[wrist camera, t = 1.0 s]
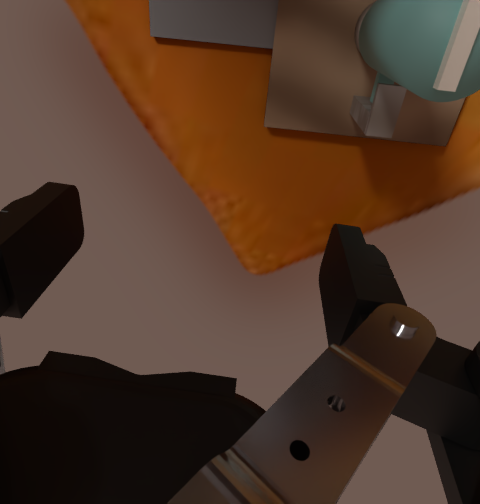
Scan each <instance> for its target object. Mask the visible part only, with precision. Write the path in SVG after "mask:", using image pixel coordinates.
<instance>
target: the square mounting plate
mask: <svg viewBox="0 0 480 504" xmlns="http://www.w3.org/2000/svg"><path fill="white" fill-rule="evenodd" d="M376 1H377V0H279V2H278V10H277V19H276V27H275V36H274V44H273V53H272V61H271V70H270V78H269V87H268V95H267V104H266V112H265V121H264V127H273V128H282V129H291V130H300V131H310V132H319V133H328V134H337V135H346V136H355V137H365V138H374V139H383V140H392V141H401V142H411V143H420V144H429V145H438V146H446V145H447V142H448V140H449V137H450V135H451V132H452V130H453V127H454V125H455V122H456V120H457V117H458V115H459V113H460V110H461V108H462V105H463V103H464V100H465V98H466V97H465V98H462V99H459V100H455V101H451V102H433V101H429V100H426V99H423V98H421V97H419V96H418V95H416V94H414V93H413V92H411V91H409V90H408V89H406V88H404V87H403V86H401V85H399V84H398V83H396V82H394V84H384V83H378V84H377V88H376V91H375V95H374V99H373V102H371V101H370V98H371V94H372V90H373V86H374V83H375V79H376V75H377V71H376V70H374V69H373V68H371V67H370V66H369V65H368V64H367V63H366V62H365V61H364V59H363V57H362V55H361V53H360V49H359V41H358V39H359V30H360V27H361V23H362V21H363V18H364V16H365V15H366V13H367V11H368V10H369V8H370V7H371V6H372V5H373V4H374V3H375V2H376Z"/></svg>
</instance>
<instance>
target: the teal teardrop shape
mask: <svg viewBox="0 0 480 504" xmlns="http://www.w3.org/2000/svg"><path fill="white" fill-rule="evenodd" d="M358 41H359V49H360V53H361V55H362V57H363V59H364V61H365V62H366V63H367V64H368V65H369V66H370V67H371V68H373V69H374V70H376V71H377V75H376V79H375V83H374V86H373V90H372V94H371V98H370V101H371V102H373V99H374V95H375V91H376V88H377V84H378V83H384V84H394V82H396V83H398V84H399V85H401V86H403V87H404V88H406V89H408V90H409V91H411V92H413V93H414V94H416V95H418V96H419V97H421V98H423V99H426V100H429V101H433V102H451V101H455V100H459V99H462V98H465V97H467V96H469V95H471V94H473V93H475V92H476V91H478V90H480V0H377V1H376V2H375V3H374V4H373V5H372V6H371V7H370V8H369V10H368V11H367V13H366V15H365V16H364V18H363V21H362V23H361V27H360V30H359V39H358Z"/></svg>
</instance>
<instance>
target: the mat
mask: <svg viewBox="0 0 480 504" xmlns="http://www.w3.org/2000/svg"><path fill="white" fill-rule="evenodd" d="M278 2H279V0H149V11H150V33H151V36H154V37H163V38H173V39H183V40H192V41H202V42H212V43H221V44H231V45H241V46H250V47H260V48H270V49H273V44H274V36H275V27H276V19H277V10H278Z"/></svg>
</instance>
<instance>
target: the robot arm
mask: <svg viewBox="0 0 480 504" xmlns="http://www.w3.org/2000/svg"><path fill="white" fill-rule="evenodd" d="M83 238H84V226H83V219H82V211H81V205H80V197H79V192H78V189H77V188H76V186H74V185H67V184H61V183H53V182H47V183H46V184H45V185H43V186H42V187H40V188H39V189H38V190H36V191H35V192H34V193H33V194H31V195H28V196H25V197H23V198H20V199H18V200H15V201H13V202H11V203H10V204H9V205H7V206H6V207H4V208H3V209H2V210H1V212H0V317H1V316H8V317H15V318H22V317H23V316H24V315H25V313H27V311H28V310H29V309H30V308H31V307H32V305H33V304H34V303H35V302H36V301H37V299H38V298H39V297H40V296H41V294H42V293H43V292H44V291H45V290H46V288H47V287H48V286H49V285H50V284H51V282H52V281H53V280H54V279H55V278H56V276H57V275H58V274H59V273H60V272H61V270H62V269H63V268H64V267H65V266H66V264H67V263H68V262H69V261H70V259H71V258H72V257H73V256H74V255H75V253H76V252H77V251H78V250H79V249H80V247H81V245H82V242H83ZM319 287H320V294H321V300H322V307H323V313H324V319H325V326H326V332H327V339H328V346H329V347H328V349H326V350H325V351H324V353H323V354H322V355H321V356H320V357H319V358H318V359H317V360H316V361H315V362H314V363H313V364H312V365H311V366H310V367H309V368H308V369H307V370H306V371H305V372H304V373H303V374H302V375H301V376H300V377H299V378H298V379H297V380H296V381H295V382H294V383H293V384H292V386H291V387H290V388H289V389H288V390H287V391H286V392H285V393H284V394H283V395H282V396H281V397H280V398H279V399H278V400H277V401H276V402H275V403H274V404H273V405H272V406H271V407H270V408H269V409H268V410H267V411H265V410H264V409H262V408H261V407H260V406H258V405H257V404H255V403H254V402H252V401H251V400H249V399H247V398H245V397H243V396H241V395H238V394H236V393H235V390H236V389H235V388H236V380H237V379H236V378H230V377H223V376H216V375H209V374H203V373H196V372H179V373H166V374H151V375H137V374H134V373H132V372H129V371H127V370H124V369H122V368H119V367H117V366H114V365H112V364H110V363H107V362H105V361H102V360H100V359H97V358H94V357H87V356H80V355H74V354H67V353H60V352H53V351H49V352H48V354H47V355H46V357H45V358H44V359H43V361H42V362H41V364H40V365H39V366H32V367H26V368H20V369H17V370H13V371H9V372H6V373H5V367H4V359H3V352H2V345H1V338H0V504H336V503H337V502H338V500H339V499H340V497H341V495H342V493H343V492H344V490H345V489H346V487H347V485H348V484H349V482H350V480H351V479H352V477H353V476H354V474H355V472H356V471H357V469H358V467H359V465H360V464H361V462H362V461H363V459H364V458H365V456H366V454H367V453H368V451H369V449H370V448H371V446H372V444H373V443H374V441H375V440H376V438H377V436H378V435H379V433H380V431H381V430H382V428H383V426H384V425H385V423H386V422H387V420H388V418H389V417H390V415H391V414H393V415H395V416H397V417H400V418H402V419H404V420H406V421H409V422H411V423H413V424H415V425H418V426H420V427H422V428H424V429H426V430H427V433H428V437H429V440H430V443H431V447H432V450H433V454H434V457H435V461H436V464H437V467H438V470H439V474H440V477H441V481H442V484H443V487H444V491H445V494H446V498H447V501H448V504H480V342H478V344H477V345H476V346H475V348H474V349H473V351H472V350H469V349H467V348H464V347H461V346H458V345H456V344H453V343H450V342H447V341H445V340H443V339H440V338H438V337H436V331H435V328H434V326H433V325H432V323H431V322H430V321H429V320H428V319H427V318H426V317H425V316H423V315H422V314H421V313H419V312H417V311H416V310H414V309H412V308H410V307H407V304H406V302H405V300H404V298H403V295H402V293H401V291H400V288H399V286H398V284H397V282H396V280H395V278H394V275H393V273H392V270H391V269H390V266H389V263H388V261H387V259H386V257H385V255H384V254H383V253H382V252H381V251H380V250H379V249H378V248H376V247H375V246H374V245H370V244H366V242H365V240H364V237H363V234H362V232H361V229H360V228H359V227H355V226H348V225H341V224H334V225H333V227H332V230H331V233H330V236H329V239H328V243H327V246H326V249H325V253H324V256H323V259H322V263H321V267H320V273H319Z"/></svg>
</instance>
